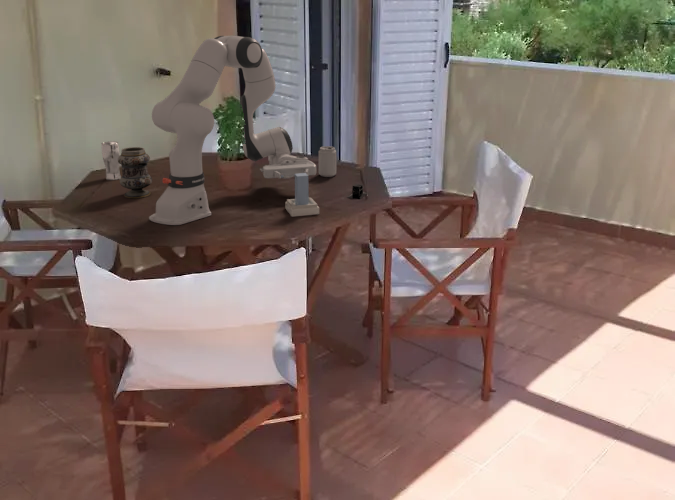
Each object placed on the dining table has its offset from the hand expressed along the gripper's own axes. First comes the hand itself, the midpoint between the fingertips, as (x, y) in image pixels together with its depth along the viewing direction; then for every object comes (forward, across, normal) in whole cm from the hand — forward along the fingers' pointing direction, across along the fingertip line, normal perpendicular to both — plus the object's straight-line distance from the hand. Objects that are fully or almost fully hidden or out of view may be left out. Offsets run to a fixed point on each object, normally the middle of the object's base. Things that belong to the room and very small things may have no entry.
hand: (293, 175), depth 273 cm
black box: (-2, +25, +11) cm, 28 cm away
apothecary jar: (-27, -56, +10) cm, 63 cm away
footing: (+12, 0, +10) cm, 16 cm away
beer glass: (-55, -64, +10) cm, 85 cm away
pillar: (+12, 0, +8) cm, 14 cm away
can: (-35, +23, +11) cm, 43 cm away
